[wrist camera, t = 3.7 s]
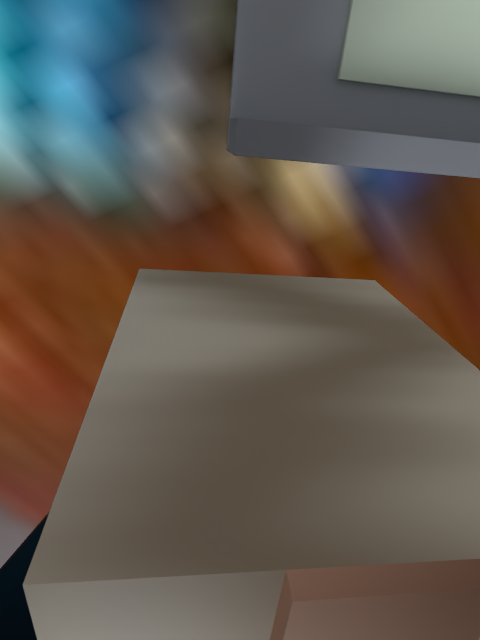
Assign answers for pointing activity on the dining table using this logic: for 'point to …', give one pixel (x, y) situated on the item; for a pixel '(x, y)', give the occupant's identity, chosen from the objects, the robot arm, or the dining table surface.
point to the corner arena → (358, 83)
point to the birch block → (268, 472)
